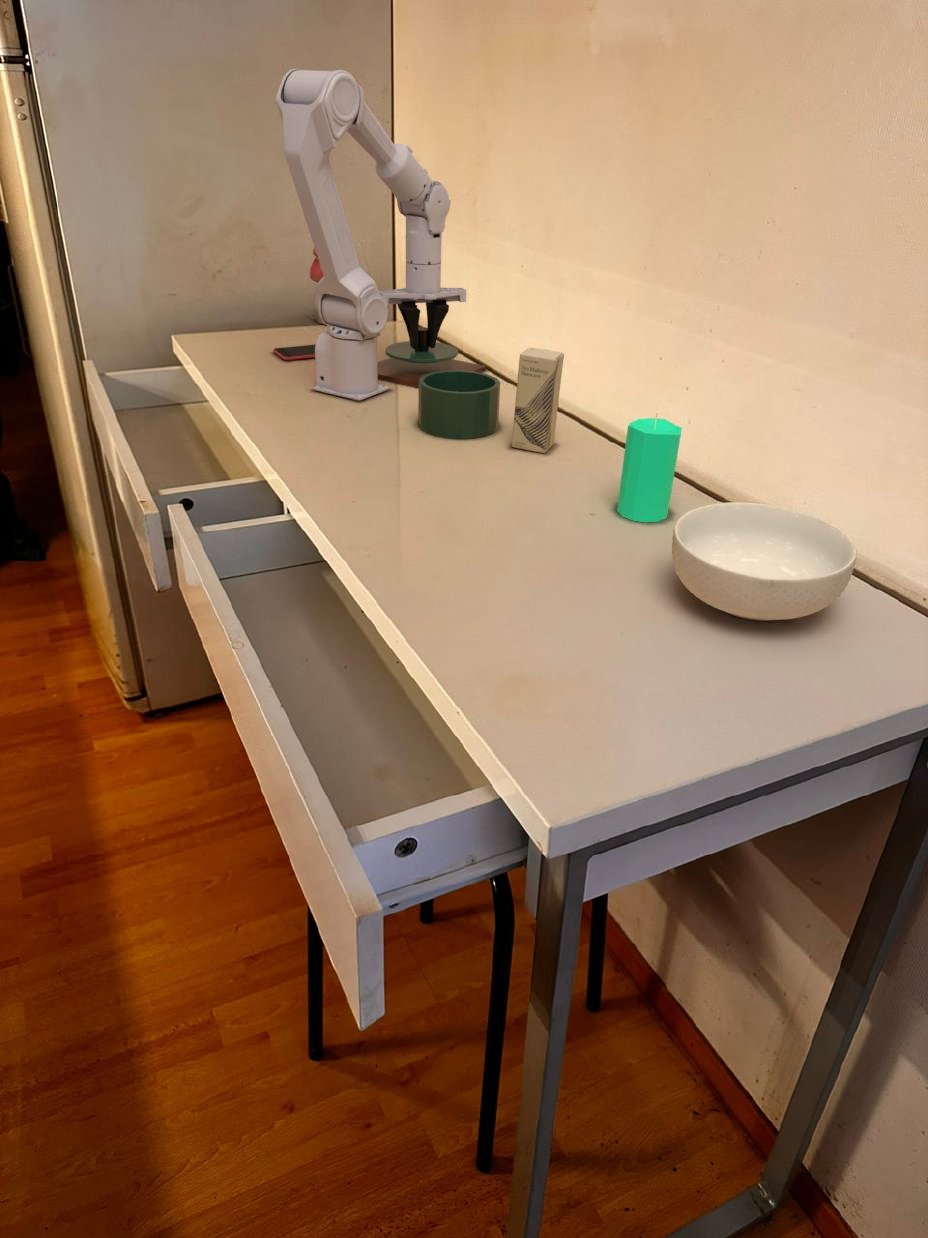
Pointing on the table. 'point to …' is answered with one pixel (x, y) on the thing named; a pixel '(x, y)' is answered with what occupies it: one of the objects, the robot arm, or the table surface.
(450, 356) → the lid
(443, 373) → the pot
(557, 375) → the box
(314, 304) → the decorative ornament
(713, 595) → the cereal bowl
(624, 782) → the table surface
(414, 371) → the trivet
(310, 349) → the smartphone
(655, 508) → the candle
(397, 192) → the robot arm
